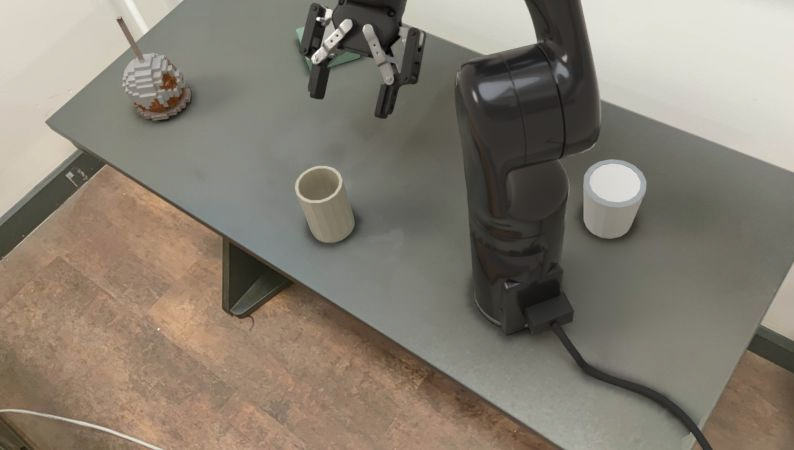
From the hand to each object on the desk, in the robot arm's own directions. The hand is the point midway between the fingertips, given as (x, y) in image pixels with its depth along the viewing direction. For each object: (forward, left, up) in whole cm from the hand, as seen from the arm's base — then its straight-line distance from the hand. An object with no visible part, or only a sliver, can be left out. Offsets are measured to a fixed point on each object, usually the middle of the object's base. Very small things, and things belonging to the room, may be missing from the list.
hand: (348, 108), depth 80 cm
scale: (+26, -2, -12) cm, 29 cm away
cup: (-6, +6, -12) cm, 15 cm away
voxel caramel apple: (+25, +23, -12) cm, 36 cm away
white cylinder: (-18, -25, -12) cm, 33 cm away
